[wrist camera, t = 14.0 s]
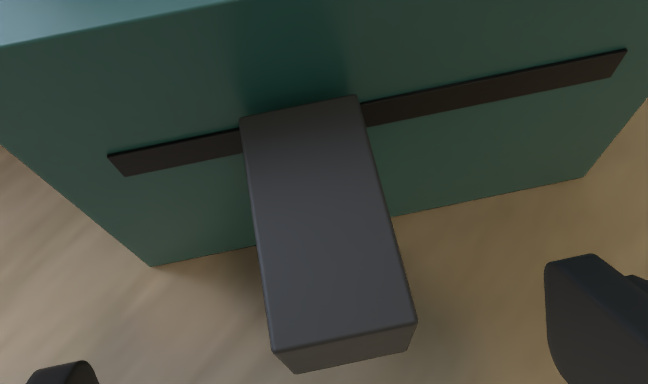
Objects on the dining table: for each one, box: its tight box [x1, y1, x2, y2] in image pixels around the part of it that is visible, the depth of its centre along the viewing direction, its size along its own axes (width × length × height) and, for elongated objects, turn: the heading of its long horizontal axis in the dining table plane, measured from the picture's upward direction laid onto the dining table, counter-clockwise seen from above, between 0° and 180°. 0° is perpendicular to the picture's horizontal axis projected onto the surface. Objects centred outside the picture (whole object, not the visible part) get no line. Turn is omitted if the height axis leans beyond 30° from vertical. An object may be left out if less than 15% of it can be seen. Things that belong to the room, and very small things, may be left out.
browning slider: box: [239, 94, 418, 374], centre depth 12 cm, size 5×3×3 cm, turn 11°
